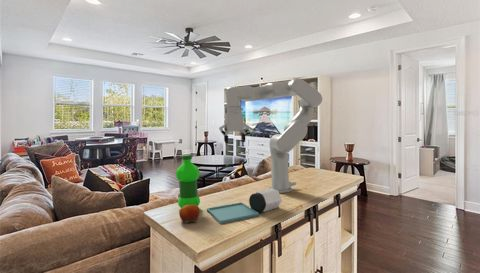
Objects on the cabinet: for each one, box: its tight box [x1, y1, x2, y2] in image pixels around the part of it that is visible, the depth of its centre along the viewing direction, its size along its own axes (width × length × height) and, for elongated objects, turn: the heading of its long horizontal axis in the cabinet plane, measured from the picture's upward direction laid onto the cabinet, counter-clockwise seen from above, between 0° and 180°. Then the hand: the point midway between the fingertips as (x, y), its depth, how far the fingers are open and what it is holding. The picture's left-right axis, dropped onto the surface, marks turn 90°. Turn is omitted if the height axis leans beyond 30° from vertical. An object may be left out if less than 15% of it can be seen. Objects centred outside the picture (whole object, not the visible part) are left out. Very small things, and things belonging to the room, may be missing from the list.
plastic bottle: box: [175, 154, 201, 209], centre depth 117 cm, size 10×10×25 cm
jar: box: [248, 188, 283, 213], centre depth 114 cm, size 9×8×12 cm
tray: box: [206, 202, 260, 225], centre depth 111 cm, size 17×17×1 cm
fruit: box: [178, 204, 201, 225], centre depth 104 cm, size 8×8×8 cm
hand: (235, 142), depth 139 cm, fingers open, 9 cm apart
